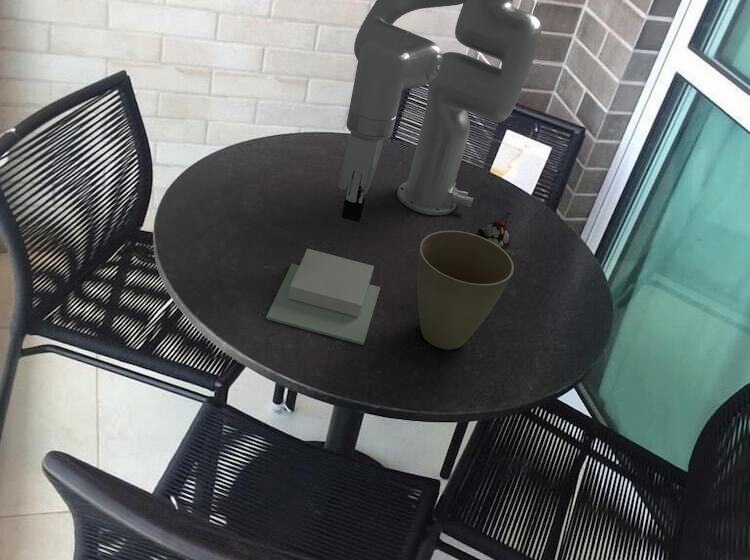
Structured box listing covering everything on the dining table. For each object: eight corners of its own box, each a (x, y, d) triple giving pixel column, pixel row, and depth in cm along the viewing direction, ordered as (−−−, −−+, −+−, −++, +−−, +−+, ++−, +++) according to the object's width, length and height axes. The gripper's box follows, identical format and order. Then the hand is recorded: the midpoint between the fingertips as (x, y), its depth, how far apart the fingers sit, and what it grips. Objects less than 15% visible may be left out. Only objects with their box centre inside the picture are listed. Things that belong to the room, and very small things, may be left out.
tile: (374, 266, 141) (361, 305, 131) (371, 278, 143) (358, 318, 133) (307, 248, 142) (290, 286, 132) (305, 261, 143) (287, 299, 133)
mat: (379, 289, 141) (380, 287, 141) (363, 345, 128) (363, 342, 128) (291, 265, 142) (291, 263, 142) (265, 318, 129) (266, 316, 128)
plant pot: (480, 313, 142) (506, 238, 133) (491, 371, 129) (521, 291, 120) (396, 301, 140) (417, 223, 131) (399, 358, 128) (423, 276, 119)
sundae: (498, 280, 151) (523, 212, 143) (491, 299, 146) (516, 229, 137) (465, 268, 152) (487, 200, 144) (456, 286, 147) (479, 216, 139)
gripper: (356, 97, 134) (338, 192, 145) (338, 134, 122) (320, 234, 133) (400, 108, 134) (379, 202, 145) (386, 146, 122) (364, 246, 133)
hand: (351, 217), depth 139 cm, fingers closed
